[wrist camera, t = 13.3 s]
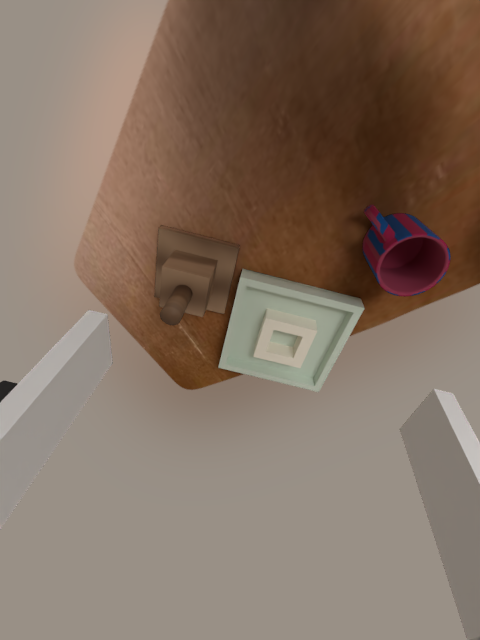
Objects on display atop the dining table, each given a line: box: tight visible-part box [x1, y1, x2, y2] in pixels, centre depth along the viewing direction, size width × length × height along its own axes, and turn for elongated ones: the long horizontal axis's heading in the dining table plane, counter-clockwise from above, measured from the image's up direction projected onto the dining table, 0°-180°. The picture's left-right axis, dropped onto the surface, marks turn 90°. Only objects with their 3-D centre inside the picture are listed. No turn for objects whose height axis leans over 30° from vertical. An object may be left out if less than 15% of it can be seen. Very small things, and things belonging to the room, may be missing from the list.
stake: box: [154, 225, 240, 325], centre depth 37 cm, size 10×10×11 cm
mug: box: [362, 205, 450, 296], centre depth 32 cm, size 7×10×7 cm
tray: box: [218, 269, 364, 392], centre depth 44 cm, size 16×16×2 cm
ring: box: [253, 308, 317, 368], centre depth 43 cm, size 7×7×2 cm
